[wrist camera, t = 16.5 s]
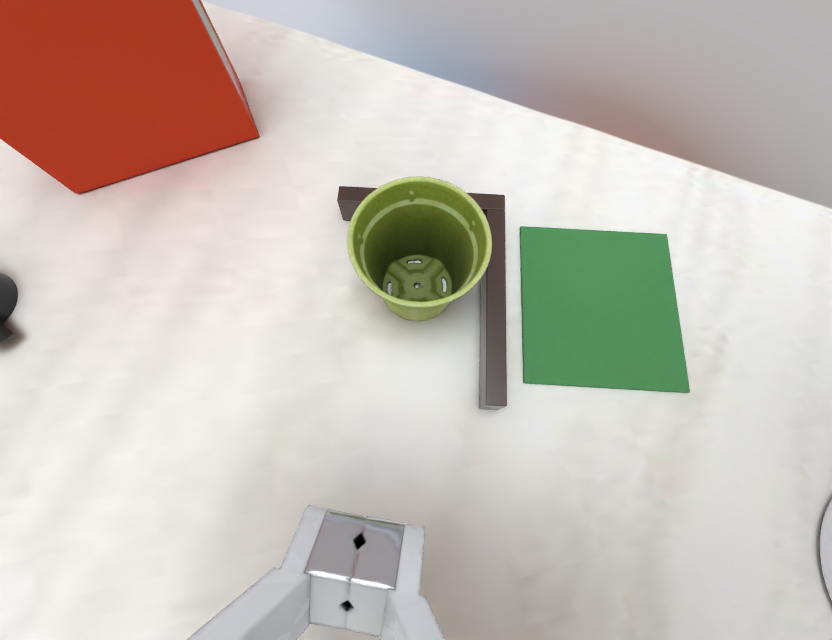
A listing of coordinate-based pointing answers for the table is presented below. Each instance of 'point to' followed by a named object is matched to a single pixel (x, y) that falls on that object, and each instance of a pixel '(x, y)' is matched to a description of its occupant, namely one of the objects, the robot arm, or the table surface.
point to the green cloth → (600, 310)
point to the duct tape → (6, 303)
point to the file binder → (115, 87)
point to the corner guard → (491, 294)
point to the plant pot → (419, 244)
